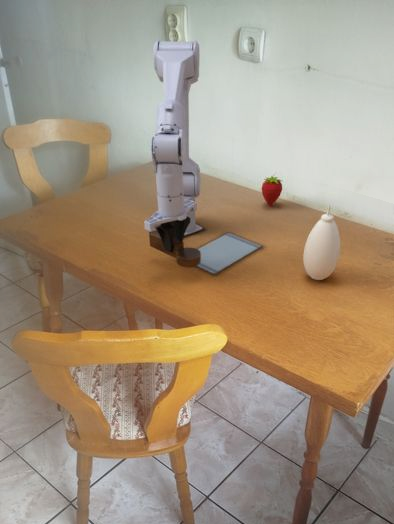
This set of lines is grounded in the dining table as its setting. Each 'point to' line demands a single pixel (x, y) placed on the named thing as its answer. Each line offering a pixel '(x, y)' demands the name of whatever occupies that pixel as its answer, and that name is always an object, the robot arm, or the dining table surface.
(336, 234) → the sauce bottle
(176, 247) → the spoon
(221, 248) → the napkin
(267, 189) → the strawberry
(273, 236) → the dining table surface
